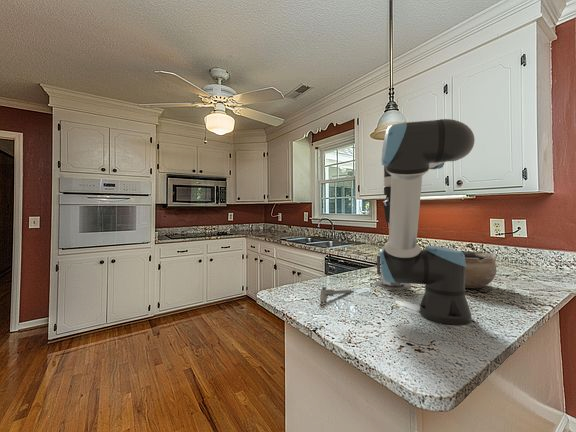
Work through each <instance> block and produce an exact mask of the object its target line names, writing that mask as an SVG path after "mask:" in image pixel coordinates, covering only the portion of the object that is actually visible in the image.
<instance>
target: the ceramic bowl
mask: <svg viewBox="0 0 576 432" xmlns="http://www.w3.org/2000/svg"><path fill="white" fill-rule="evenodd" d="M460 251H461V252H462V253H463V254H464V256H465V264H466V267H465V289H482V288H484V287H487V286H488V285H489V284H490V283H491V282H493V280H494V279H495V276H496V274H497V265H496V260H497V257H498V256H497V255H495V254H494V253H493V254H492V253H491V254H489V253H485V252H479V251H478V252H477V251H468V250H460Z"/></svg>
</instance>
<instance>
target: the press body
mask: <svg viewBox="0 0 576 432" xmlns="http://www.w3.org/2000/svg"><path fill="white" fill-rule="evenodd" d="M376 274H377V275H380V277H381V278H380V280H381V282H382V285H384V286H388V287H403V286H404V285H405V283H393V282H387V281H385V280H384V279H383V275H382V268H381V260H380V252H378V254H377V255H376Z"/></svg>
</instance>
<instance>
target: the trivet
mask: <svg viewBox="0 0 576 432" xmlns="http://www.w3.org/2000/svg"><path fill="white" fill-rule="evenodd" d="M374 284H375V286H377V287H379V288H383V289H387V290H395V291H396V290H409V289H410V288H412V284H410V283H405V285H404V286H403V287H388V286H384V285H382V282H381V279H379V280H376V281H375V282H374Z"/></svg>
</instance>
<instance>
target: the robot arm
mask: <svg viewBox="0 0 576 432" xmlns="http://www.w3.org/2000/svg"><path fill="white" fill-rule="evenodd" d="M383 139H384V140H383V142H382V143H383V144H382V151H381V166H383V186H384V188H383V194H384V196H386V197H385V200H384V201H382V206H383V211H384V217H385V222H386V224H388V241H386V242H385V243H384V246H383V248H380V249H379V252H378V253H380V255H379V256H380V269H381V268H382V275H383V279H384V280H385V281H387V282H393V283H409V284H410V285H412V284H415V285H425V289H424V290H425V291H424V293H423V296H422V299H421V302H420V304H419V313H420V315H421V316H423V317H424V318H425V319H427V320H430V321H433V322H436V323H440V324H446V325H453V326H454V325H455V326H461V325H462V326H463V325H467V324H470V323H471V322H472V312H471V309H470V307H469V306H470V305H469V303H468V301H467V300H468V299H467V297H466V288H465V267H466V264H465V256H464V254H463V253H462V252H461V251H462V250H458V249H454V248H451V247H450V248H449V247H445V246H444V247H443V246H438V245H426V246H425V247H424V249H421V248H422V247H421V246H420V245H419V244H418V243H417V241H418V240H417V238H418V229H419V218H420V217H419V216H420V208H421V207H420V206H421V194H422V185H423V184H422V183H423V176H424V175H426V173H429V170H438V169H442V168H443V167H444V165H445V163H446V162H456V161H459V160H461V159H463V158H465V157H466V156H468V155H469V154H470V153H471V151H472V150H473V148H474V146H475V141H476V140H475V135H474V132H473V131H472V129H471V128H470V127H469V126H468V125H467V124H465V123H464V122H462V121H459V120H456V119H452V118H443V119H442V118H441V119H433V120H432V119H431V120H422V121H409V122H407V121H404V122H399V123H394V124H391V125H389V126H388V127H387V129H386V131H385V135H384V138H383Z"/></svg>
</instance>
